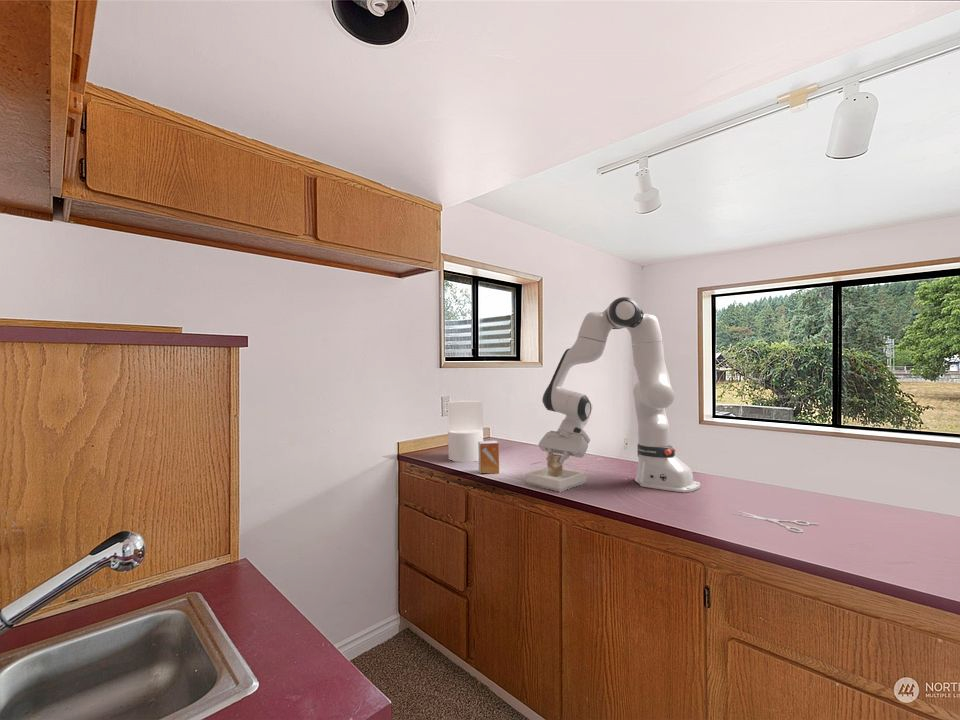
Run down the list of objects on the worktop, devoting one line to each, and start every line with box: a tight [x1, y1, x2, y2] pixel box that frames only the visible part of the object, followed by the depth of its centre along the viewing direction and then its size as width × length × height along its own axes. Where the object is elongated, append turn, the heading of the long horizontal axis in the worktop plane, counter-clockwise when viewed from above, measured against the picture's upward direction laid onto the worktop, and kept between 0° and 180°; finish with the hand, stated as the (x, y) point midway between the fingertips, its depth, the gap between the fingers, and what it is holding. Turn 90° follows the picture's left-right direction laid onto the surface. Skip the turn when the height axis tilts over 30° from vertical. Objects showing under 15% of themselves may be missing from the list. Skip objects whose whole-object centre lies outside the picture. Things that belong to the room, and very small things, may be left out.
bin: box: [525, 467, 587, 493], centre depth 168 cm, size 16×16×4 cm
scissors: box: [735, 510, 819, 534], centre depth 125 cm, size 11×1×20 cm
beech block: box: [546, 453, 563, 477], centre depth 168 cm, size 4×4×8 cm
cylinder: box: [446, 399, 484, 463], centre depth 217 cm, size 17×17×28 cm
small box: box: [478, 440, 500, 474], centre depth 189 cm, size 8×6×13 cm
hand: (553, 461), depth 168 cm, fingers closed on beech block, 4 cm apart
